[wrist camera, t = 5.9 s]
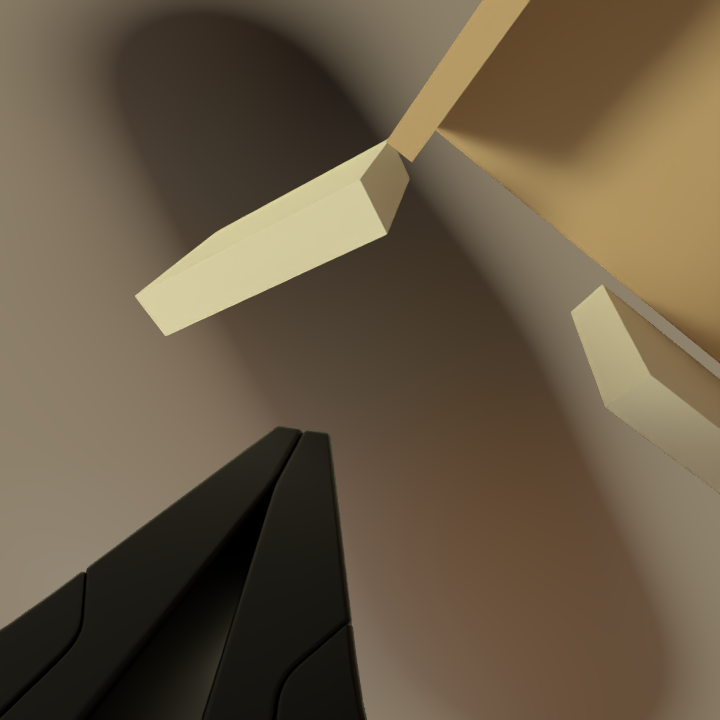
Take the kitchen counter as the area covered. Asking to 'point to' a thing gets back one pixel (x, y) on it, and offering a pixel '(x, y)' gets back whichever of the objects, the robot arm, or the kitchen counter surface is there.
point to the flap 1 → (281, 239)
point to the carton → (598, 134)
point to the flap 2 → (652, 383)
